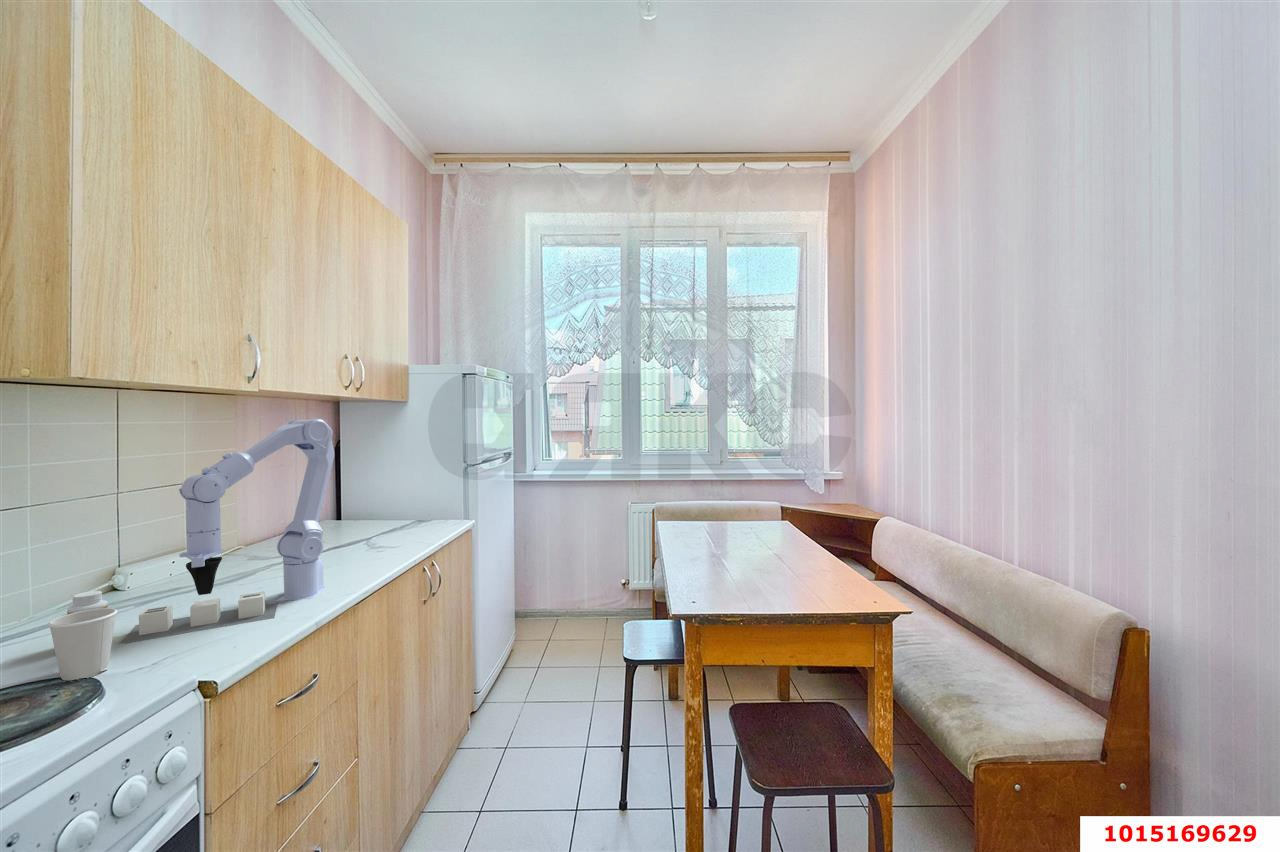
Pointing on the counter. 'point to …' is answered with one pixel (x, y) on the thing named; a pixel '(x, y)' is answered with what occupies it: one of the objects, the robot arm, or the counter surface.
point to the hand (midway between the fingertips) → (205, 593)
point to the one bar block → (251, 605)
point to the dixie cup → (83, 642)
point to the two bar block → (155, 620)
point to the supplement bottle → (87, 602)
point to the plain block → (205, 612)
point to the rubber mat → (185, 625)
